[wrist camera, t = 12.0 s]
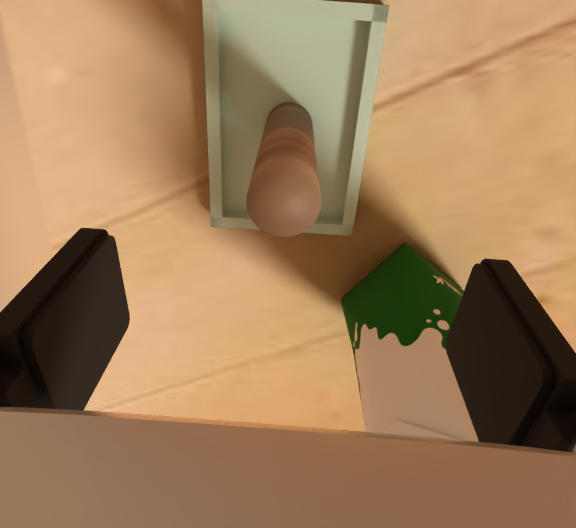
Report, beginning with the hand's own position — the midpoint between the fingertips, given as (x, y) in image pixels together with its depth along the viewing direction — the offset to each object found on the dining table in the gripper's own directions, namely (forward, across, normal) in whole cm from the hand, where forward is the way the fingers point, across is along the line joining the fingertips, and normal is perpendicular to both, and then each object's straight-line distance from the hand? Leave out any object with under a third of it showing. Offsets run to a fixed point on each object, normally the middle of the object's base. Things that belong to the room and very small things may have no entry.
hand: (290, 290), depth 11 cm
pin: (+18, +1, +1) cm, 18 cm away
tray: (+19, +1, +1) cm, 19 cm away
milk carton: (+19, -9, +14) cm, 25 cm away
